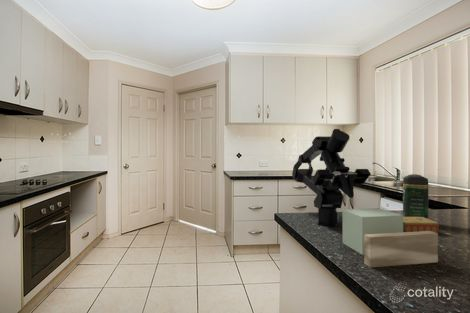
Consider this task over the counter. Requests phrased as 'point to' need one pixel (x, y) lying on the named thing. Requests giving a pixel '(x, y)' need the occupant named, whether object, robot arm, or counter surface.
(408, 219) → the carton
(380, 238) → the board
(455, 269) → the counter surface
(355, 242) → the block
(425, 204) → the coffee jar
